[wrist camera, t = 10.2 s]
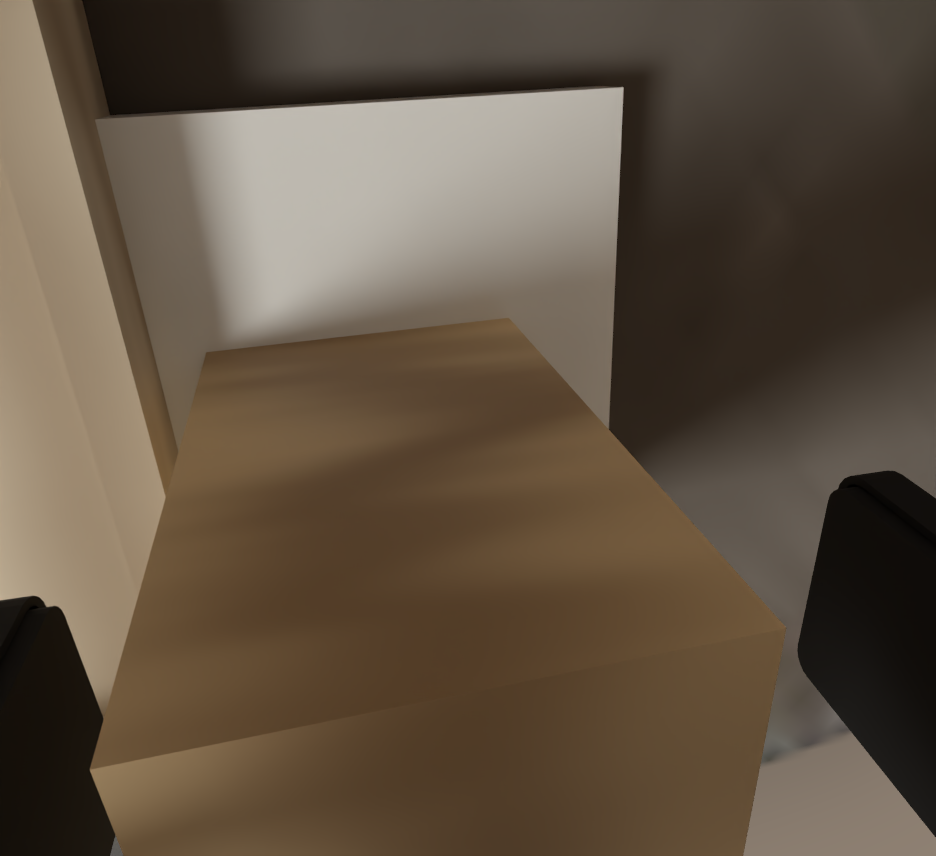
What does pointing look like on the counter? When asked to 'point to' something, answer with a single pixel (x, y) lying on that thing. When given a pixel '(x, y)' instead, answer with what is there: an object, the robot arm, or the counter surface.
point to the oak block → (428, 622)
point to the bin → (71, 349)
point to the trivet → (373, 224)
